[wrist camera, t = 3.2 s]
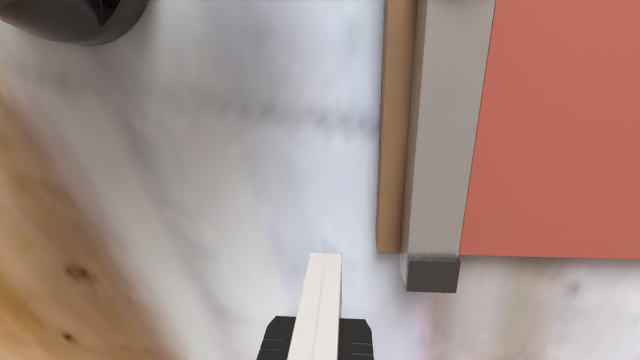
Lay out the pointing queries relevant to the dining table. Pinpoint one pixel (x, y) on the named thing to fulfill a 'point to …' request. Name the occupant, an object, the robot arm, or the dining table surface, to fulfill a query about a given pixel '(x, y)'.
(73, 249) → the dining table surface
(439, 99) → the swing bar
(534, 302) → the dining table surface
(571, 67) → the door slab
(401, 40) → the strip
